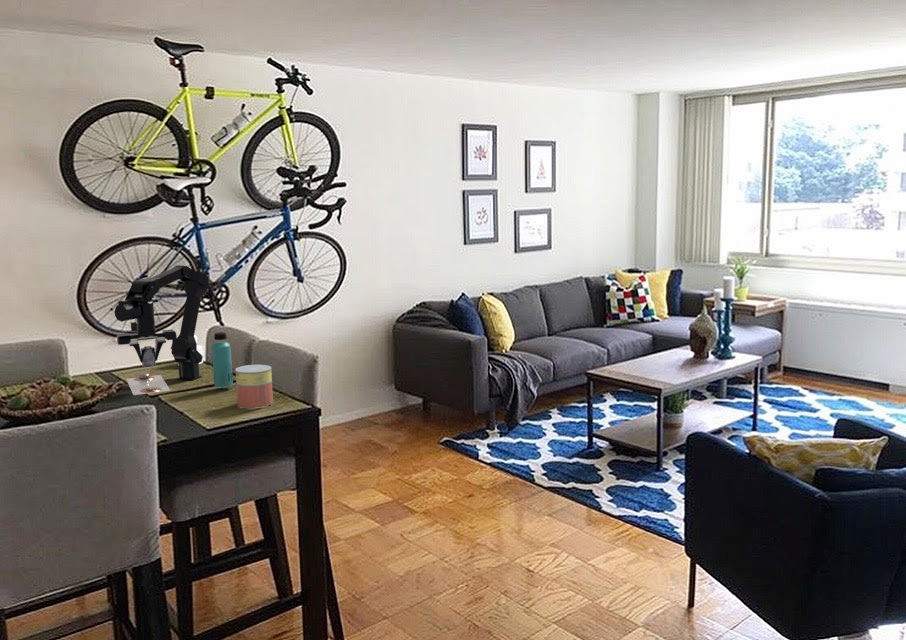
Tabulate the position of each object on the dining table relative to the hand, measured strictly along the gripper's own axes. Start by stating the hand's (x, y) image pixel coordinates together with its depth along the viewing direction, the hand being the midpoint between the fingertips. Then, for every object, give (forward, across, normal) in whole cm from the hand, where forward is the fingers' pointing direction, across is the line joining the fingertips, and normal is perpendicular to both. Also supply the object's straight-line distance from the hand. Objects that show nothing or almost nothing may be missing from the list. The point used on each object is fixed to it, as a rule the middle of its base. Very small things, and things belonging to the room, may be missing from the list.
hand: (148, 361), depth 264 cm
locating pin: (+1, 0, 0) cm, 1 cm away
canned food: (+11, -28, +36) cm, 46 cm away
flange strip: (+10, 0, -9) cm, 14 cm away
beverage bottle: (+11, -22, +11) cm, 27 cm away
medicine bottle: (+11, -19, -35) cm, 41 cm away
